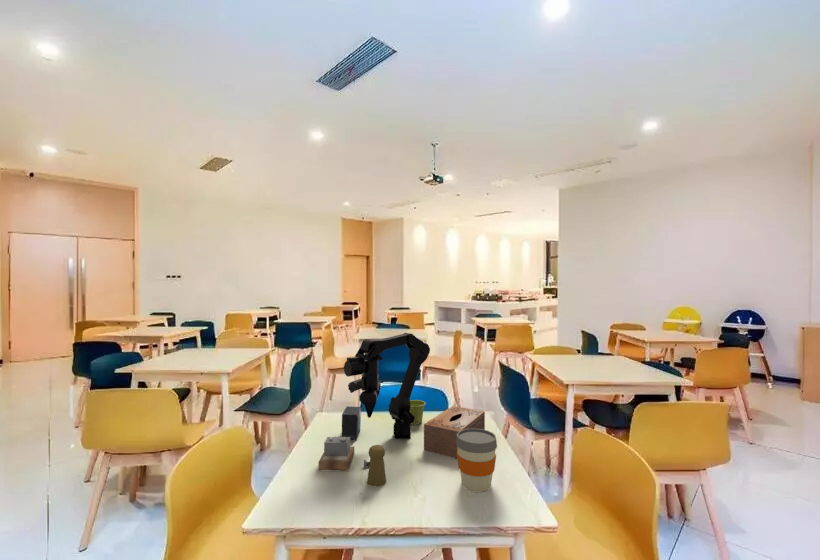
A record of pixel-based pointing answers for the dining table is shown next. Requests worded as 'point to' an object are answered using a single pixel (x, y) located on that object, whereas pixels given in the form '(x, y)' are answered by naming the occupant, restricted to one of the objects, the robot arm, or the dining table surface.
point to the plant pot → (417, 410)
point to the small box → (351, 422)
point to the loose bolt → (366, 463)
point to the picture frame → (336, 462)
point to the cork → (376, 466)
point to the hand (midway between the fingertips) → (370, 413)
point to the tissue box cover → (450, 429)
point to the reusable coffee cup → (476, 458)
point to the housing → (337, 446)
